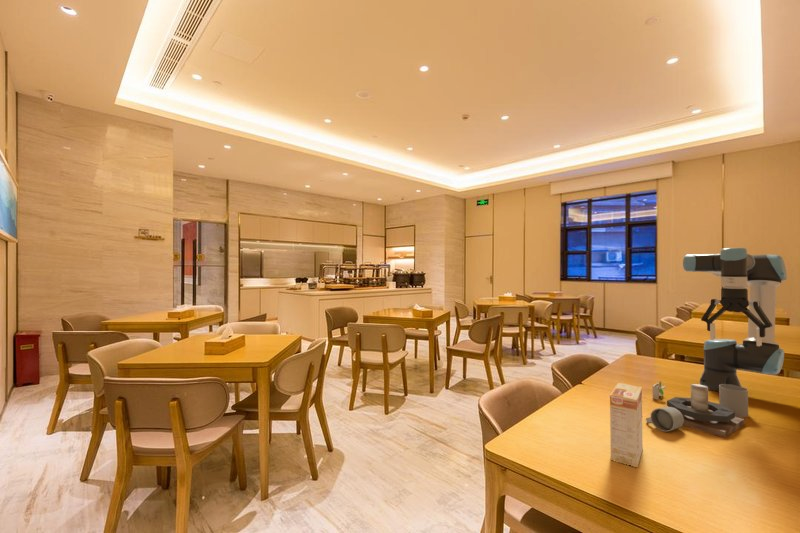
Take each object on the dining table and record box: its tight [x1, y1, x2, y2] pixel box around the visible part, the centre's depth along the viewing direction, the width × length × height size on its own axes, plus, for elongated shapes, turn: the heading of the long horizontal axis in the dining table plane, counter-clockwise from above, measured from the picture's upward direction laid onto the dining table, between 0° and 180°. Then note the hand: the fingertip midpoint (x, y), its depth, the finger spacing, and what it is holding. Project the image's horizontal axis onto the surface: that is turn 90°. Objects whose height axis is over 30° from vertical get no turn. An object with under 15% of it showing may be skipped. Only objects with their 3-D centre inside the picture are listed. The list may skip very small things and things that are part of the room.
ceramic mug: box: [645, 406, 684, 433], centre depth 129 cm, size 11×8×8 cm
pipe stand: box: [682, 383, 746, 439], centre depth 134 cm, size 20×20×13 cm
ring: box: [666, 396, 736, 422], centre depth 134 cm, size 18×18×2 cm
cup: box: [718, 384, 749, 418], centre depth 142 cm, size 8×8×10 cm
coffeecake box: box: [609, 382, 644, 468], centre depth 110 cm, size 15×7×20 cm, turn 141°
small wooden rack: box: [652, 380, 667, 400], centre depth 159 cm, size 4×7×8 cm, turn 127°
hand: (735, 342), depth 139 cm, fingers open, 13 cm apart
